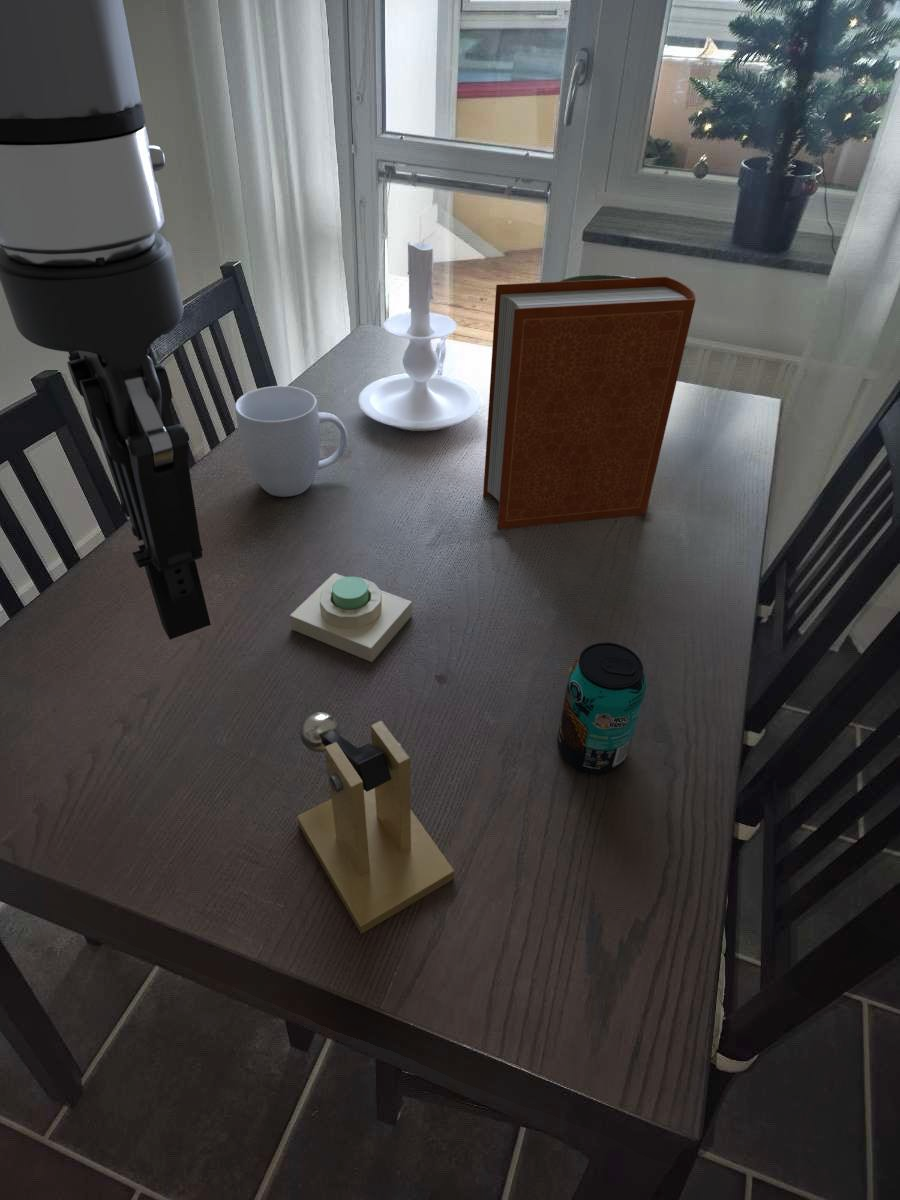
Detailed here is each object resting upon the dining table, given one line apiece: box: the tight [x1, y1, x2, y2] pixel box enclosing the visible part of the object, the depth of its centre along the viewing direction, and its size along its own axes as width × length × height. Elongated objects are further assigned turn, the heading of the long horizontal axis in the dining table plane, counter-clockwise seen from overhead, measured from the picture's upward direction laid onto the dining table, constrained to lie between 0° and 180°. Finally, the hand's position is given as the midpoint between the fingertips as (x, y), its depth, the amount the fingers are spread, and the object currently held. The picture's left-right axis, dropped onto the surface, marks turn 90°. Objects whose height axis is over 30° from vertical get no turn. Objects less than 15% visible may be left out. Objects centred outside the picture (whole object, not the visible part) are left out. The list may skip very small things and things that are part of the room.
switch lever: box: [299, 711, 391, 792], centre depth 64 cm, size 14×4×4 cm
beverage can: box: [556, 642, 648, 774], centre depth 72 cm, size 7×7×12 cm
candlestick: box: [357, 238, 483, 432], centre depth 121 cm, size 21×25×28 cm
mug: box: [234, 385, 348, 498], centre depth 107 cm, size 15×11×13 cm
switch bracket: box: [296, 720, 455, 935], centre depth 62 cm, size 12×9×14 cm
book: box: [482, 276, 697, 530], centre depth 99 cm, size 23×8×30 cm, turn 102°
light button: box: [332, 575, 368, 610], centre depth 86 cm, size 4×4×2 cm
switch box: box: [289, 572, 413, 663], centre depth 88 cm, size 11×9×4 cm
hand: (186, 625), depth 49 cm, fingers closed
